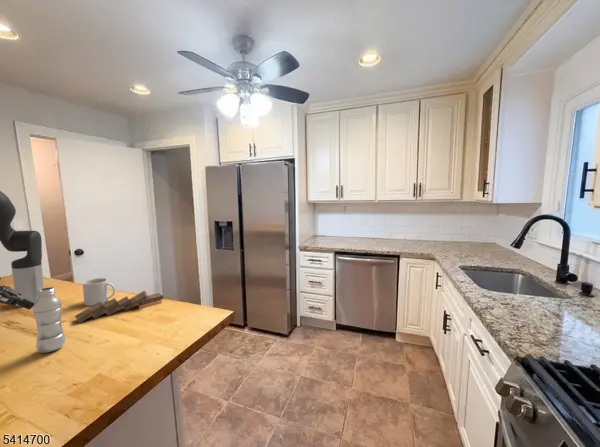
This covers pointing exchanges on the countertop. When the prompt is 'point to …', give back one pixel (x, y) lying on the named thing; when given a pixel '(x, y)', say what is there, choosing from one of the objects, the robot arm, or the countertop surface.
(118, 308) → the domino
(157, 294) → the domino
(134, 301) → the domino
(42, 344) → the plastic bottle
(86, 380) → the countertop surface
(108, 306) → the domino
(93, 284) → the mug
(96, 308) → the domino
